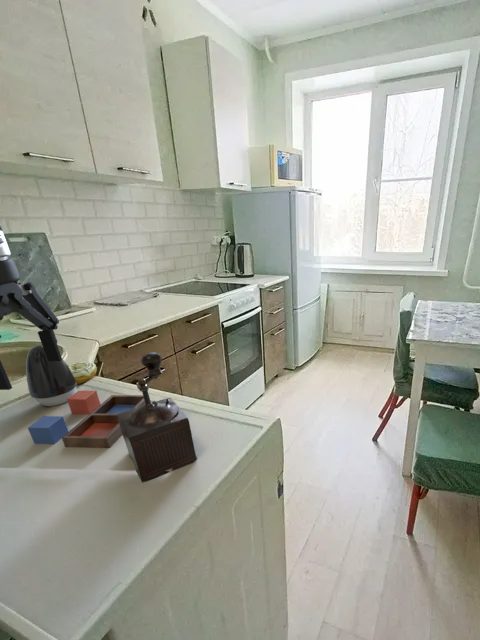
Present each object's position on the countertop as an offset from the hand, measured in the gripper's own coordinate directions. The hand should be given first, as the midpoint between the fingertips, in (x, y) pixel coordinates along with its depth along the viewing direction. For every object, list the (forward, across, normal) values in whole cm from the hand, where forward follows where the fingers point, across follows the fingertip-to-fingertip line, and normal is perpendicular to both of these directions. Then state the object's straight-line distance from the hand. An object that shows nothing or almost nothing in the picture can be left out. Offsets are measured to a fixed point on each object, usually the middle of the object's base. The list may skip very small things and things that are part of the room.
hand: (32, 373), depth 69 cm
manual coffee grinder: (+15, -4, -25) cm, 30 cm away
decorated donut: (+15, +30, +15) cm, 36 cm away
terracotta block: (+15, +11, 0) cm, 18 cm away
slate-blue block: (+15, -1, 0) cm, 15 cm away
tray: (+15, +5, -10) cm, 18 cm away
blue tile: (+14, +9, -10) cm, 20 cm away
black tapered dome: (+15, +16, +11) cm, 24 cm away
